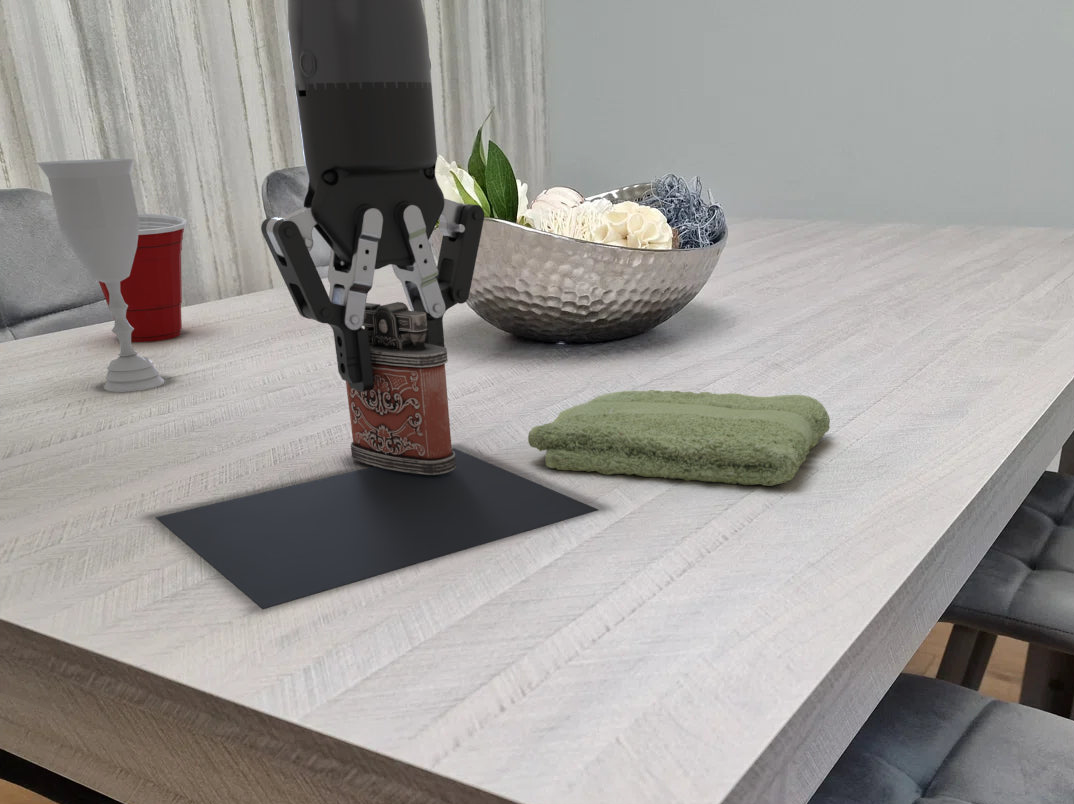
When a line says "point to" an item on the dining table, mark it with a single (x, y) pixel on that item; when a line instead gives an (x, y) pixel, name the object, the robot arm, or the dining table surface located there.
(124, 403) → the dining table surface
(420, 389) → the lighter
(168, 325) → the plastic cup
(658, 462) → the washcloth
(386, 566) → the mat
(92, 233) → the chalice
